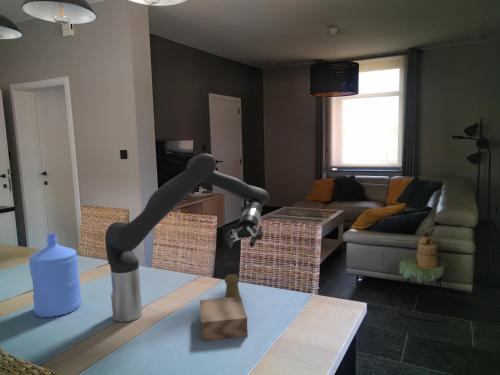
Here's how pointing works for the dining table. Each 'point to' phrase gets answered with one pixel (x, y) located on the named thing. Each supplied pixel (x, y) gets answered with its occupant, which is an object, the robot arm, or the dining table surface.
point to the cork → (232, 286)
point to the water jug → (55, 279)
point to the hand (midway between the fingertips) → (240, 245)
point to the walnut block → (223, 318)
